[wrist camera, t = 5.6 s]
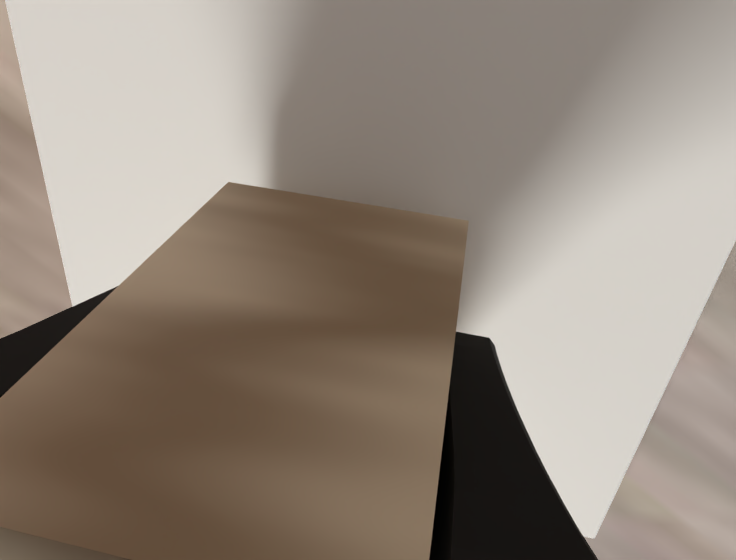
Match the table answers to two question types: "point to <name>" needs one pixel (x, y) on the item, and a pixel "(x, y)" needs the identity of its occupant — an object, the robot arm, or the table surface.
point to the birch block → (246, 393)
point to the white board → (427, 166)
